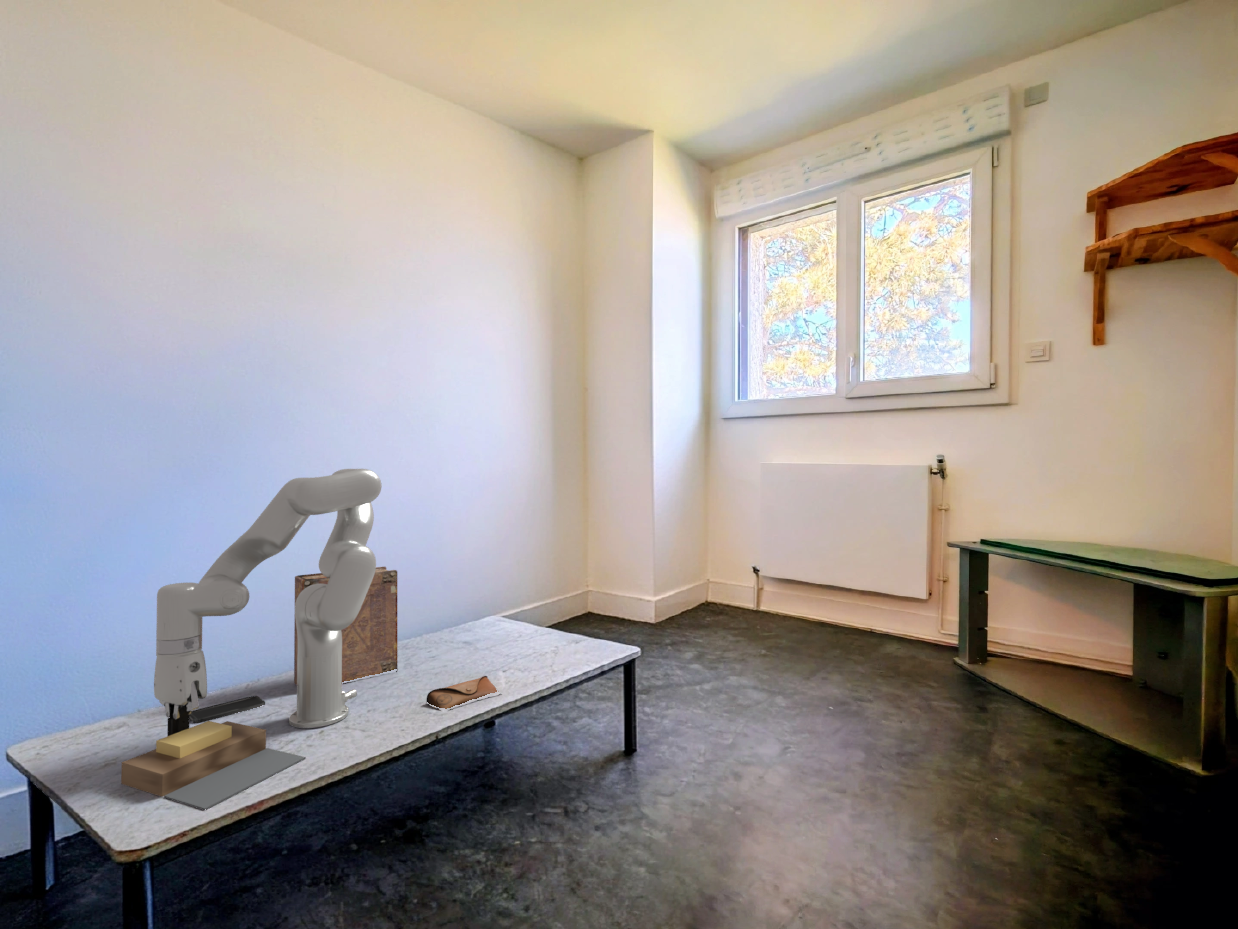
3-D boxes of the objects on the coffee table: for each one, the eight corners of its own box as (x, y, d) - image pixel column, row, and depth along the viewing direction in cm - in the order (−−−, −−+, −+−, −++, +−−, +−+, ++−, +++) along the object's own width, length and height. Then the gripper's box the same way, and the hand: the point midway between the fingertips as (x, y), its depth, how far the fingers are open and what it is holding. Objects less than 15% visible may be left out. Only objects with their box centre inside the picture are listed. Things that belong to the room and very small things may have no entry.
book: (386, 664, 180) (386, 566, 181) (397, 672, 173) (398, 569, 174) (293, 684, 163) (294, 575, 164) (302, 693, 156) (303, 579, 157)
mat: (267, 749, 124) (267, 748, 124) (305, 758, 120) (305, 757, 120) (164, 797, 105) (164, 795, 105) (205, 810, 101) (205, 808, 101)
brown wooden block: (227, 739, 129) (227, 721, 129) (265, 749, 124) (266, 730, 124) (121, 784, 110) (121, 762, 110) (162, 797, 106) (162, 774, 106)
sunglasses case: (443, 713, 143) (436, 686, 145) (430, 721, 147) (423, 694, 149) (504, 693, 156) (497, 668, 158) (491, 701, 160) (484, 677, 162)
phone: (186, 712, 142) (256, 694, 153) (186, 717, 142) (256, 699, 153) (194, 721, 137) (266, 702, 148) (194, 726, 137) (266, 707, 148)
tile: (208, 731, 123) (208, 720, 124) (231, 737, 121) (231, 726, 121) (156, 752, 114) (156, 740, 114) (179, 758, 112) (180, 746, 112)
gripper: (222, 644, 120) (221, 734, 120) (176, 636, 126) (175, 722, 126) (183, 654, 114) (182, 750, 113) (136, 645, 119) (134, 737, 119)
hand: (178, 735), depth 120 cm, fingers closed
